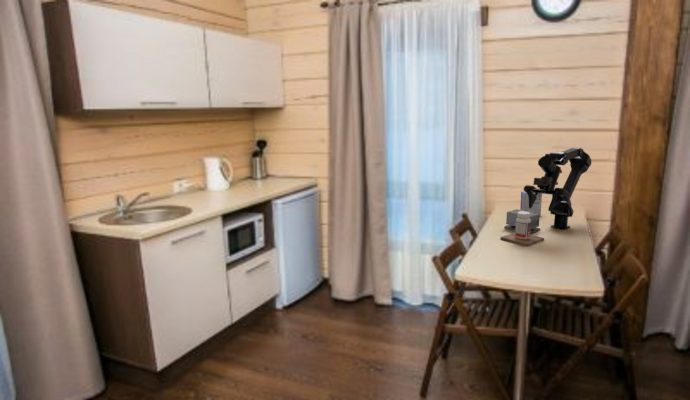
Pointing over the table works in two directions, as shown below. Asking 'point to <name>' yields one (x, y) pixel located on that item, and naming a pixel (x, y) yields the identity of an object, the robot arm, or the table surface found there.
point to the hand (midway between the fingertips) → (539, 209)
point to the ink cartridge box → (536, 206)
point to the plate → (524, 242)
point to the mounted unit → (513, 216)
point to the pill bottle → (523, 225)
